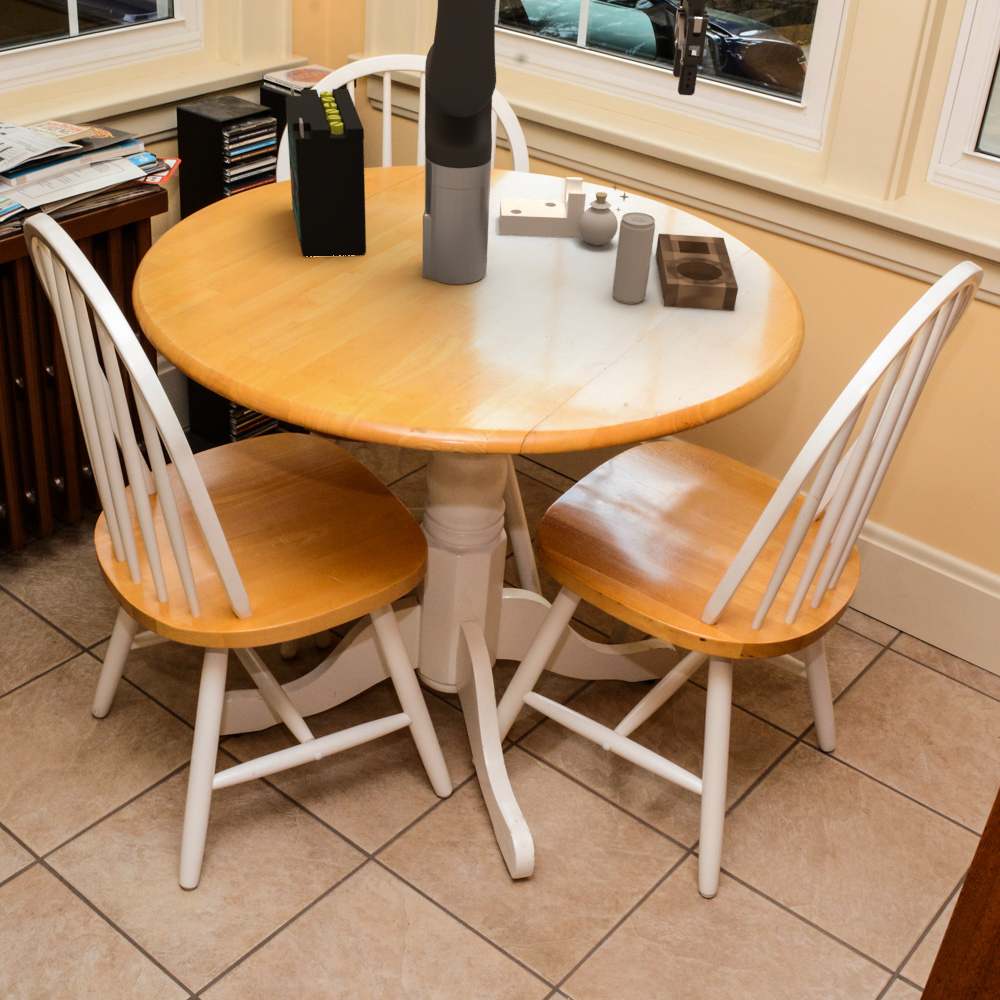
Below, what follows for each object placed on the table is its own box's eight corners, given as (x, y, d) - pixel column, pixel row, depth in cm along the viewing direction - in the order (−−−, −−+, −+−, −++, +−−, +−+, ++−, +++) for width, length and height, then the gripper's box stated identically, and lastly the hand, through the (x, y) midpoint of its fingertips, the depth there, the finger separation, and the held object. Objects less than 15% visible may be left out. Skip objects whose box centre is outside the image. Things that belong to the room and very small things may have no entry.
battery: (292, 209, 182) (284, 84, 171) (351, 207, 184) (347, 83, 173) (302, 258, 167) (294, 124, 156) (366, 255, 169) (363, 122, 158)
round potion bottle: (578, 234, 180) (583, 173, 174) (624, 238, 179) (631, 177, 173) (576, 249, 175) (582, 187, 169) (623, 253, 174) (631, 191, 169)
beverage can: (643, 307, 159) (654, 227, 152) (609, 302, 160) (619, 222, 153) (646, 293, 163) (657, 214, 156) (614, 288, 164) (623, 210, 157)
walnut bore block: (664, 306, 160) (667, 283, 158) (655, 254, 175) (658, 233, 172) (733, 310, 160) (738, 288, 158) (719, 258, 174) (723, 237, 172)
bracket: (578, 222, 185) (582, 177, 180) (581, 239, 179) (585, 194, 174) (499, 219, 184) (501, 174, 180) (500, 236, 178) (502, 190, 174)
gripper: (667, -55, 151) (652, 69, 160) (676, -34, 139) (659, 99, 149) (723, -52, 151) (704, 73, 160) (736, -30, 139) (715, 102, 149)
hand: (682, 85), depth 155 cm, fingers open, 8 cm apart
